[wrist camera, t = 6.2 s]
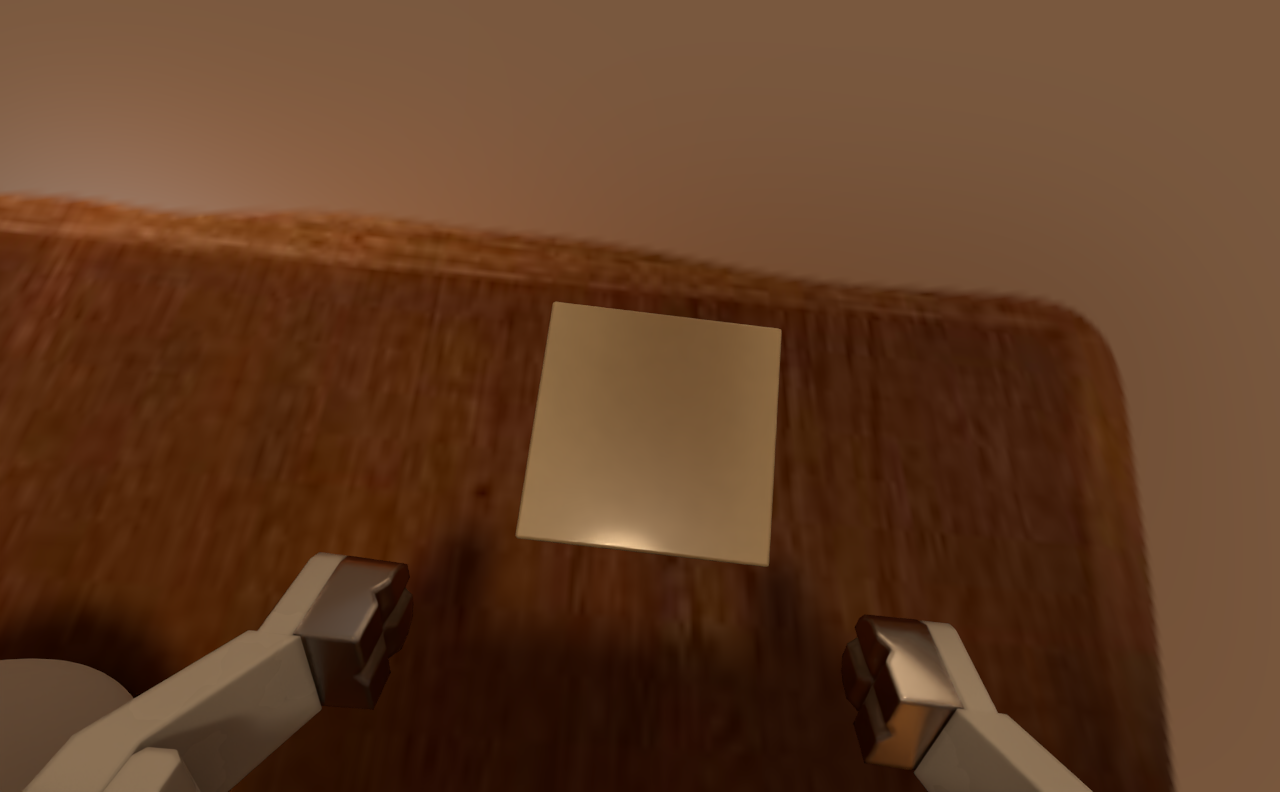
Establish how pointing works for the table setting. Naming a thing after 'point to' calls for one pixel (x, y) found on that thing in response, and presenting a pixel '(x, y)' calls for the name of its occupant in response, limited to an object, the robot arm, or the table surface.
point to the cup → (47, 712)
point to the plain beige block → (654, 436)
